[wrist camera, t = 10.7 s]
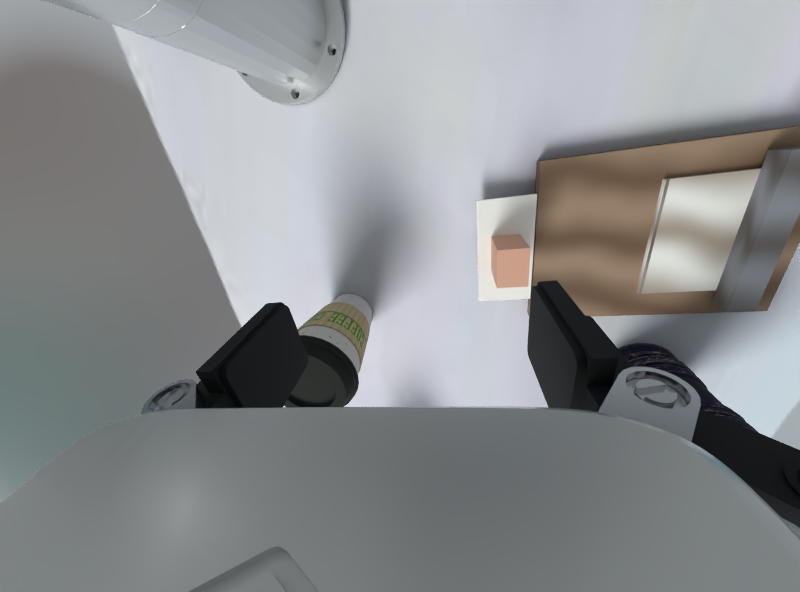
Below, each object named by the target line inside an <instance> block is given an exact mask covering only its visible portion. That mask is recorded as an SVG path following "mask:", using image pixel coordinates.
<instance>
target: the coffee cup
mask: <svg viewBox="0 0 800 592" xmlns="http://www.w3.org/2000/svg"><path fill="white" fill-rule="evenodd" d="M372 316H373V315H372V309H371V307H370V305H369V304H368V302H367V301H366V300H365V299H363V298H362V297H360V296H358V295H355V294H343V295H340V296H338V297H337V298H336V299H335V300H333V301H332V302H331V303H330V304H328V305H326V306H325V307H324V308H322V309H321V310H320V311H319V312H318V313H316V314H315V315H314V316H313V317H312V318H310V319H309V320H308V321H307V322H306V323H305V324H303V325H302V326H301V327H300V328H299V329H297V330H298V333H299V335H300V338H301V340H302V343H303V345H304V348H305V350H306V353H307V356H308V364H307V367H306V368H305V370H304V372H303V373H302V375H301V377H300V379H299V380H298V382H297V384H296V385H295V387H294V389H293V391H292V392H291V394H290V396H289V397H288V399H287V401H286V402H285V404H284V406H286V407H344V406H345V405H347V404H348V403H349V402H350V401H351V399H352V398H353V397H354V395H355V394H356V391H357V389H358V384H359V381H358V373H359V371H360V368H361V364H362V360H363V356H364V352H365V348H366V344H367V340H368V336H369V331H370V325H371V321H372Z"/></svg>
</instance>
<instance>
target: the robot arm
mask: <svg viewBox="0 0 800 592" xmlns="http://www.w3.org/2000/svg"><path fill="white" fill-rule="evenodd" d="M42 1H45V2H49V3H52V4H55V5H59V6H62V7H65V8H68V9H71V10H74V11H77V12H80V13H82V14H85V15H88V16H92V17H94V18H97V19H100V20H103V21H105V22H108V23H111V24H114V25H116V26H119V27H122V28H125V29H127V30H130V31H133V32H135V33H137V34H140V35H143V36H145V37H148V38H151V39H153V40H156V41H159V42H162V43H164V44H167V45H170V46H172V47H175V48H178V49H181V50H183V51H186V52H189V53H191V54H194V55H197V56H200V57H202V58H205V59H208V60H210V61H213V62H216V63H219V64H221V65H224V66H227V67H229V68H232V69H235V70H237V72H238V73H239V75H240V76H241V77H242V79H243V80H244V81H245V82H246V83H247V84H248V85H249V86H250V87H251V88H252V89H253V90H254V91H256V92H257V93H259V94H260V95H261V96H263V97H265V98H267V99H269V100H271V101H273V102H277V103H281V104H286V105H299V104H305V103H307V102H310V101H312V100H314V99H315V98H317V97H318V96H320V95H321V94H322V93H323V92H324V91H325V90H326V89H327V88H328V87H329V86H330V84H331V83H332V81H333V79H334V77H335V76H336V74H337V72H338V69H339V66H340V64H341V61H342V57H343V51H344V46H345V19H344V10H343V6H342V2H341V0H42ZM334 50H336V53H335V55H333V51H334ZM298 93H299V97H297V94H298ZM528 356H529V359H530V361H531V364H532V366H533V369H534V371H535V374H536V376H537V379H538V382H539V384H540V387H541V389H542V392H543V394H544V397H545V399H546V402H547V404H548V407H549V408H542V407H284V408H283V406H284V404H285V402H286V401H287V399H288V397H289V396H290V394H291V392H292V391H293V389H294V387H295V385H296V384H297V382H298V380H299V379H300V377H301V375H302V373H303V372H304V370H305V368H306V367H307V364H308V356H307V353H306V350H305V348H304V345H303V343H302V340H301V338H300V335H299V333H298V330H297V327H296V325H295V322H294V320H293V317H292V315H291V312H290V310H289V308H288V306H286V305H284V304H283V303H282V302H279V303H267V304H266V305H265V306H264V307H263V308H262V309H260V310H259V311H258V312H257V313H256V314H255V315H254V316H253V317H252V318H251V319H250V320H249V321H248V322H247V323H246V324H245V325H244V326H243V327H242V328H241V329H240V330H239V331H238V332H237V333H236V334H235V335H233V336H232V337H231V338H230V340H228V341H227V342H226V343H225V344H224V345H223V346H222V347H221V348H220V349H219V350H218V351H217V352H216V353H215V354H214V355H213V356H212V357H211V358H210V359H209V360H207V362H206V363H204V364H203V365H202V366H201V367H200V368H199V369H198V370H197V371H196V373H197V375H198V376H199V378H200V379H201V381H200V382H199V383H198V384H196V382H195V381H194V380H192V379H185V380H180V381H177V382H174V383H172V384H169V385H167V386H165V387H164V388H162V389H160V390H159V391H157V392H156V393H155V394H154V395H152V396H151V397H150V398H149V399H148V400H147V402H146V403H145V404H144V406H143V409H142V412H141V415H137V416H132V417H129V418H125V419H122V420H119V421H116V422H113V423H110V424H108V425H105V426H103V427H101V428H98V429H96V430H94V431H92V432H90V433H88V434H86V435H85V436H83V437H81V438H80V439H78V440H77V441H76V442H74V443H73V444H71V445H70V446H69V447H67V448H66V449H65V450H64V451H63V452H61V453H60V454H59V455H57V456H56V457H55V458H53V459H52V460H51V461H50V462H49V463H47V464H46V465H45V466H43V467H42V468H41V469H40V470H38V472H36V473H35V474H34V475H32V476H31V477H30V478H29V479H27V480H26V481H25V482H24V483H23V484H21V485H20V486H19V487H18V488H16V489H15V490H14V491H13V492H12V493H10V494H9V495H8V496H7V497H6V498H5V499H3V500H2V501H1V502H0V592H800V450H798V449H795V448H793V447H791V446H788V445H786V444H784V443H781V442H779V441H776V440H774V439H772V438H769V437H767V436H765V435H762V434H760V433H757V432H755V431H753V430H750V429H748V428H745V427H743V426H741V425H738V424H736V423H733V422H731V421H729V420H726V419H724V418H722V417H719V416H717V415H714V414H712V413H710V412H707V411H705V410H702V409H700V406H701V401H700V396H699V395H698V393H697V392H696V390H695V389H694V388H693V387H692V386H690V385H689V384H688V383H687V382H686V381H684V380H682V379H681V378H679V377H677V376H675V375H673V374H671V373H668V372H666V371H663V370H659V369H655V368H650V367H632V366H631V364H630V363H629V362H628V361H627V359H626V358H625V357H624V356H623V355H622V353H621V352H620V351H619V350H618V349H617V347H616V346H615V345H614V344H613V343H612V341H611V340H610V339H609V338H608V336H607V335H606V334H605V333H604V332H603V330H602V329H601V328H600V327H599V326H598V324H597V323H596V322H595V321H594V319H593V318H591V317H590V316H585V315H584V314H583V312H582V311H581V310H580V309H579V307H578V306H577V305H576V304H575V302H574V301H573V300H572V299H571V297H570V296H569V295H568V293H567V292H566V291H565V290H564V288H563V287H562V286H561V285H560V283H559V282H558V281H557V280H552V281H540V282H538V283H537V286H532V288H531V300H530V316H529V332H528Z"/></svg>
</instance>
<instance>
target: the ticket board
mask: <svg viewBox="0 0 800 592" xmlns="http://www.w3.org/2000/svg"><path fill="white" fill-rule="evenodd" d="M535 194H537V203H536V219H535V234H534V249H533V264H532V279H531V288H532V286H537V283H538V282H540V281H552V280H557V281H558V282H559V283H560V285H561V286H562V287H563V288H564V290H565V291H566V292H567V293H568V295H569V296H570V297H571V299H572V300H573V301H574V302H575V304H576V305H577V306H578V307H579V309H580V310H581V311H582V312H583V314H584V315H585V316H619V315H651V314H683V313H715V312H748V311H767V310H768V308H769V306H770V303H771V301H772V299H773V297H774V295H775V293H776V291H777V289H778V286H779V284H780V282H781V280H782V278H783V276H784V274H785V272H786V270H787V267H788V265H789V263H790V261H791V259H792V257H793V255H794V253H795V250H796V248H797V246H798V244H799V242H800V126H792V127H785V128H777V129H770V130H763V131H755V132H748V133H740V134H733V135H726V136H718V137H711V138H703V139H696V140H689V141H681V142H674V143H666V144H659V145H652V146H644V147H637V148H629V149H622V150H615V151H607V152H600V153H592V154H585V155H577V156H570V157H563V158H555V159H548V160H540V161H537V169H536V185H535ZM530 300H531V294H530V299H528V315H529V316H530Z"/></svg>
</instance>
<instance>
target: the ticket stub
mask: <svg viewBox="0 0 800 592" xmlns="http://www.w3.org/2000/svg"><path fill="white" fill-rule="evenodd" d="M536 203H537V194H528V195H520V196H511V197H502V198H493V199H484V200H476V216H477V264H478V301H490V300H513V299H530V294H531V279H532V264H533V249H534V234H535V219H536Z"/></svg>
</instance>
